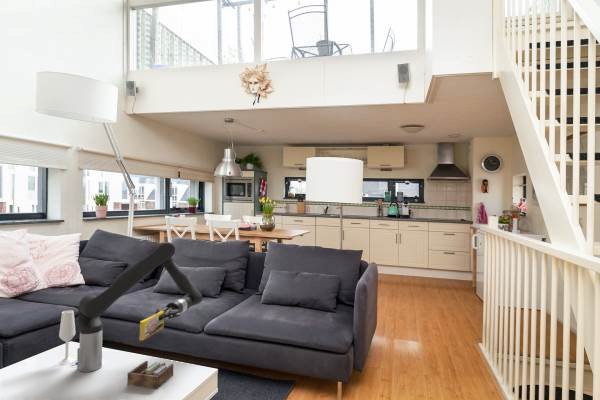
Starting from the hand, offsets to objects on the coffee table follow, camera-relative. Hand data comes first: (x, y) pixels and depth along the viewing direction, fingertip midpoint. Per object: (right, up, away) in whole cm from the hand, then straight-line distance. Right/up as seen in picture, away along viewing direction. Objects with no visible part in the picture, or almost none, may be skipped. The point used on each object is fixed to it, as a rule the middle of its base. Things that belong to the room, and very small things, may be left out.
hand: (157, 318), depth 170 cm
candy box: (-1, -6, -3) cm, 7 cm away
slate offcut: (+6, -24, -12) cm, 27 cm away
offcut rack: (+1, -24, -11) cm, 26 cm away
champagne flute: (-46, -23, +6) cm, 52 cm away
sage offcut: (+2, -24, -10) cm, 26 cm away
